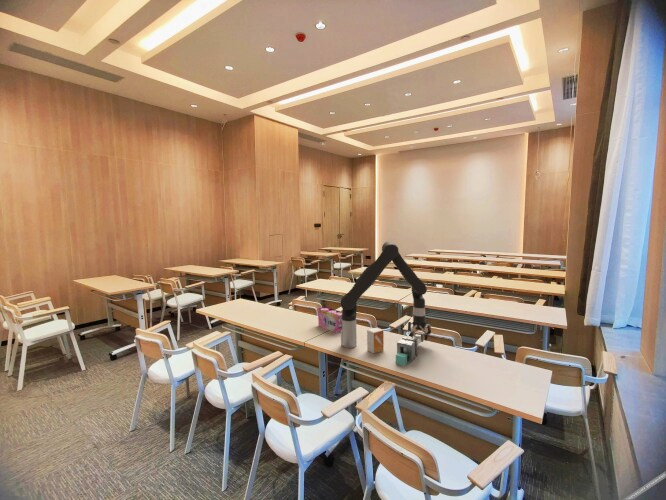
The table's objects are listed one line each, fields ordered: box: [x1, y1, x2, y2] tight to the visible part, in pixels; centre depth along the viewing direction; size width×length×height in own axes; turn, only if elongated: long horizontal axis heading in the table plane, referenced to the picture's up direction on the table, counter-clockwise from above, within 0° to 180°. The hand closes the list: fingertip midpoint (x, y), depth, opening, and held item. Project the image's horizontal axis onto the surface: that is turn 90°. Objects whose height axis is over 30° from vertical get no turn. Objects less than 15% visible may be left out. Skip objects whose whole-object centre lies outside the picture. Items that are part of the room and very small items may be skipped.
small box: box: [366, 327, 385, 354], centre depth 188 cm, size 8×6×13 cm
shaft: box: [403, 331, 425, 353], centre depth 186 cm, size 5×24×5 cm, turn 146°
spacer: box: [395, 352, 408, 367], centre depth 171 cm, size 5×5×4 cm
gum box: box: [317, 306, 342, 333], centre depth 232 cm, size 24×8×14 cm, turn 38°
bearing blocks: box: [396, 336, 419, 363], centre depth 178 cm, size 9×10×10 cm
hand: (419, 338), depth 196 cm, fingers open, 8 cm apart
